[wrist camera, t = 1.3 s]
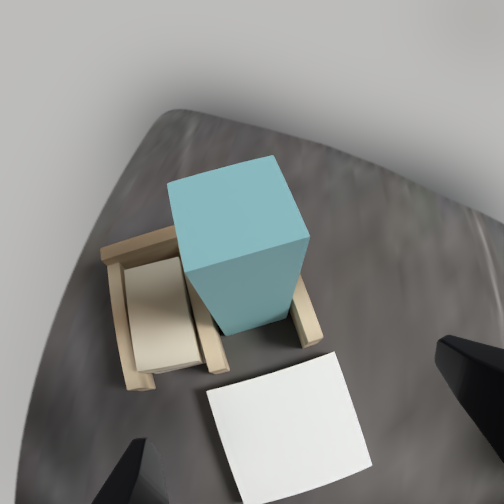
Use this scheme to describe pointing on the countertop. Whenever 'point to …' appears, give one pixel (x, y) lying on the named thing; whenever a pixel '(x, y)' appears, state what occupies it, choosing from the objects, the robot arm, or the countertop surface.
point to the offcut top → (161, 317)
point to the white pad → (289, 430)
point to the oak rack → (167, 247)
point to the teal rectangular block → (240, 241)
